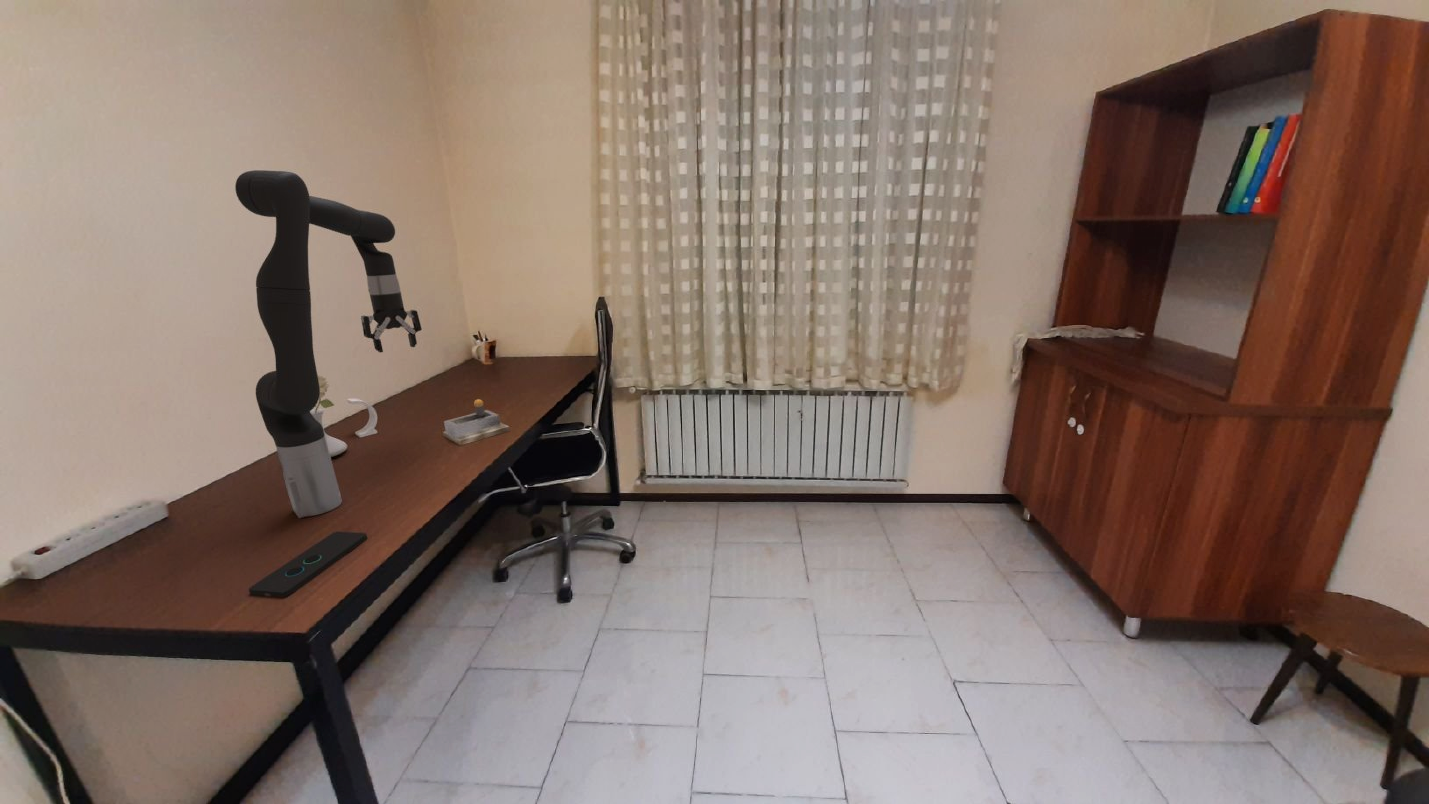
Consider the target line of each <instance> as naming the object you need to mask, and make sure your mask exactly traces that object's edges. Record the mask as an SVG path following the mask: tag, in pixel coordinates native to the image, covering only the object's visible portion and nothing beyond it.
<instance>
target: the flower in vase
mask: <svg viewBox="0 0 1429 804" xmlns="http://www.w3.org/2000/svg"><path fill="white" fill-rule="evenodd" d="M318 381H319V388H320V396H319V400H318V402H317V405H316V406H315V407H314V408H315V409H314V408H313V409H312V410H311V411H310V413H311V414H312V416H313V417H314V418H315V419H316V420H317V421H318V422H319V423H320V424H321V425H322V427H323V430H324V434H325V438H326V442H327V446H328V449H329V453H330V457H331V458H333V457H335V456H337V455H340V454H342V453H343V452H345V451H346V450H347V448H348V445H347V444H346V442H344V440H341V439H338V438H335V437H333V436H330V435H328V433H326V432H325V429H324V426H323V415H324V413H325V409H327V408H330V407H334V406H335V404H334V403H333V402H332V401H331V400H330V399H328V398H324V399H322V398H323V397H324V396H325V395H326V393H327V391H328V387H329V384H328V381H327V380H326V377H324V376H323V375H318ZM319 406H321V407H322V408H319Z"/></svg>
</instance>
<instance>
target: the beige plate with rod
mask: <svg viewBox="0 0 1429 804" xmlns="http://www.w3.org/2000/svg"><path fill="white" fill-rule="evenodd" d="M473 406H474V408H475V413H476V416H477V419H480V418H483V417H485V414H484V411H485V410H484V409H485V408H484V401H483V400H482V399H479V398H478V399H475V400H474V402H473ZM500 426H501V427H498V428H494V429H491V430H487V431H484V432H480V433H477V434H473V435H470V436H466V437H463V438H460V439H455V438H454V437H452V436H450V435H448V434H446V430H445V431H443V432H442V433H443V437H445V438H446V439H448V440H450V441H451V442H453V443H455V444H457V445H459V446H463V445H467V444H469V443H473V442H477V441H480V440H483V439H486V438H491V437H494V436H497V435H501V434H504V433H508V432H511V430H510V426H509V425H507V424H504V423H503V422H501V421H500Z"/></svg>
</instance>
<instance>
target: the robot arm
mask: <svg viewBox="0 0 1429 804" xmlns="http://www.w3.org/2000/svg"><path fill="white" fill-rule="evenodd" d="M235 181H236V182H235V187H234V188H235V193H236V197H237V200H238V201H239V202H240V203H241V205H242V206H243V207H244V208H245V209H246V210H248V211H249V212H250V213H253V214H255V215H258V216H262V217H266V218H275V236H274V237H275V238H274V243H273V245H272V247H271V249H270V250H269V253H268V254H267V256H266V258H265V259H264V260H263V262H262V264H261V265H260V267H259V270H258V272H257V275H256V280H255V287H256V289H255V290H256V305H257V311H258V315H259V318H260V319H261V322H262V325H263V326H264V329H265V330H266V334H267V335H268V337H269V339H270V342H271V344H272V347H273V351H274V356H275V357H274V359H275V370H273V371H269V372H267V373H265V374H264V375H262V376H261V377H260V378H259V380H258V381H257V383H256V387H255V398H256V403H257V405H258V409H259V411H260V415H261V417H262V420H263V423H264V426H265V428H266V431H267V432H268V433H269V435H270V436H271V438H272V439H273V442H274V445H275V448H276V451H277V454H278V458H279V461H280V462H279V463H280V464H281V468H282V472H283V473H282V476H283V480H284V483H285V486H286V490H287V494H288V496H289V500H290V504H291V507H292V510H293V512H294V514H295V515H296V517H298V519H301V518H304V517H314V516H317V515H318V516H319V515H321V514H324V513H327V512H330V511H333V510H335V509H336V508H338V507H340V505H342V503H343V499H342V495H341V492H340V487H339V483H338V480H337V476H336V473H335V469H334V465H333V462H332V461H333V460H332V457H330V453H329V449H328V446H327V442H326V438H325V434H324V431H325V429H324V426H323V427H322V425H323V424H322V425H321V424H320V423H319V422H318V421H317V420H316V419H315V418H314V417H313V416H312V414H311V413H310V411H311V410H313V409H314V408H316V407H317V405H318V403H319V396H320V388H319V381H318V376H319V375H318V372H317V370H318V369H317V367H316V366H317V365H316V360H315V353H314V344H313V341H314V340H313V325H312V324H313V323H312V302H311V301H312V298H311V295H312V294H311V285H310V273H309V272H310V270H309V235H310V234H309V233H310V225H313V226H315V227H320V228H323V229H325V230H330V231H332V232H335V233H338V234H341V235H344V236H345V235H346V236H350V238H351V239H352V241H353V243H354V245H355V247H356V249H357V251H358V254H359V255H360V257H361V259H362V260H363V261H362V262H363V264H364V269H365V273H366V283H367V290H368V291H367V292H368V294H369V297H370V302H371V307H372V312H373V315H361V318H360V319H361V326H362V332H363V336H364V337H365V338H368V339H371V340H372V341H373V346H374V349H375V351H377V352H378V353H384V349H383V344H382V340H381V338H380V337H381V336H382V334H383V333H384V331H385V330H392V329H399V328H402V329H404V331H406V332H408V334H407V337H408V342H409V346H410V347H411V348H415V347H416V345H417V344H418V342H417V338H416V337H417V336H416V333H418V332H420V331H422V324H421V320H420V318H419V313H418V311H417V310H415V309H411V310H409V311H408V310H407V311H406V310H405V307H404V302H403V298H402V292H401V287H400V282H399V279H398V277H397V272H396V267H395V261H394V259H393V256H392V254H391V253H389V252H384V251H380V250H379V249H378V248H377V247H376V245H375V244H384V243H385V244H386V243H389V242H391V241H392V240H393V239H394V238H395V235H396V228H395V225H394V224H393V222H392V221H391V219H389V218H388V216H385V215H383V214H379V213H376V212H370V211H365V210H360V209H356V208H354V207H352V206H349V205H347V204H344V203H341V202H339V201H336V200H331V199H328V198H327V199H326V198H322V197H317V196H312V195H310V193H309V190H308V187H307V184H306V183H305V181H304V179H303V178H302V177H301V176H299V174H297V173H295V172H293V171H292V172H291V171H285V170H284V171H282V170H264V169H263V170H261V169H260V170H259V169H258V170H257V169H255V170H249V171H245V172H242V173H241V174H240V175H239V176H238V177H237V179H236V180H235ZM407 317H409V318H410V319H411V321H412V324H413V325H412V326H413V327H412V326H411V325H410V324H409V323H407V322H406V319H407ZM373 321H375V322H376V323H377V324H376V326H375V328H374V330H373V332H372V330H371V324H372V323H373ZM315 406H316V407H315ZM323 429H324V430H323Z"/></svg>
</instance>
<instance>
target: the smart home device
mask: <svg viewBox="0 0 1429 804" xmlns="http://www.w3.org/2000/svg"><path fill="white" fill-rule="evenodd" d="M367 540H368V535H367V533H365V532H349V531H334V532H332V533H330V534H329V535H327V536H326V537H324V538H323V539H321V540H320V541H318V542H317V543H315V544H314V545H312V546H311V547H309V548H308V549H306V550H305V551H303V552H302V553H300V554H299V555H297V556H295V557H294V558H292V559H291V560H289V561H288V562H286V563H285V564H283V565H282V566H280V567H279V568H277V569H276V570H274V571H273V572H271V573H270V574H268V575H267V576H265V577H264V578H262V579H260V580H259V581H257V582H256V583H254V584H253V585H252V586H249V588H248V592H249V595H250V596H258V597H269V598H270V597H271V598H282V599H286V598H287V597H289V596H292V595H293V594H294V593H296V592H297V591H298V590H299V589H301V588H303V587H304V586H305V585H307V584H308V583H309V582H311V581H312V580H313V579H315V578H316V577H318V576H319V575H321V574H322V573H323V572H325V571H326V570H327V569H328V568H330V567H331V566H333V565H335V564H336V563H337V562H338V561H339V560H341V559H342V558H344V557H346V555H348V554H349V553H351V552H353V550H355V549H356V548H357V547H359V546H360V545H362V544H363V543H364V542H366V541H367Z"/></svg>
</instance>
